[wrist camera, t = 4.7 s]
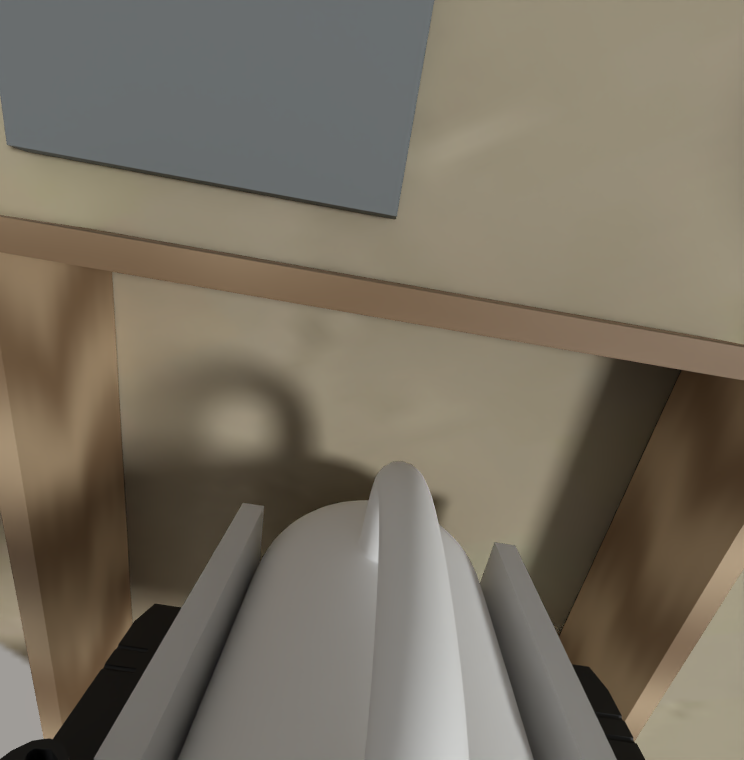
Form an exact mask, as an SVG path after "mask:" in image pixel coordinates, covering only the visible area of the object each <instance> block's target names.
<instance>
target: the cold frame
mask: <svg viewBox="0 0 744 760" xmlns="http://www.w3.org/2000/svg"><path fill="white" fill-rule="evenodd" d="M112 272H117V273H123V274H129V275H135V276H141V277H146V278H152V279H158V280H164V281H170V282H175V283H181V284H187V285H193V286H199V287H204V288H210V289H216V290H222V291H228V292H233V293H239V294H245V295H251V296H257V297H262V298H268V299H274V300H280V301H286V302H291V303H297V304H303V305H309V306H315V307H321V308H326V309H332V310H338V311H344V312H350V313H355V314H361V315H367V316H373V317H379V318H384V319H390V320H396V321H402V322H408V323H413V324H419V325H425V326H431V327H437V328H442V329H448V330H454V331H460V332H466V333H471V334H477V335H483V336H489V337H495V338H500V339H506V340H512V341H518V342H524V343H529V344H535V345H541V346H547V347H553V348H558V349H564V350H570V351H576V352H582V353H587V354H593V355H599V356H605V357H611V358H616V359H622V360H628V361H634V362H640V363H645V364H651V365H657V366H663V367H669V368H674V369H680V370H682V371H681V373H680V375H679V377H678V379H677V382H676V384H675V386H674V388H673V390H672V392H671V395H670V397H669V399H668V401H667V403H666V405H665V408H664V410H663V412H662V414H661V416H660V419H659V421H658V423H657V425H656V427H655V429H654V432H653V434H652V436H651V438H650V440H649V442H648V445H647V447H646V449H645V451H644V453H643V455H642V458H641V460H640V462H639V464H638V466H637V468H636V471H635V473H634V475H633V477H632V479H631V481H630V484H629V486H628V488H627V490H626V492H625V495H624V497H623V499H622V501H621V503H620V505H619V508H618V510H617V512H616V514H615V516H614V518H613V521H612V523H611V525H610V527H609V529H608V531H607V534H606V536H605V538H604V540H603V542H602V544H601V547H600V549H599V551H598V553H597V555H596V558H595V560H594V562H593V564H592V566H591V568H590V571H589V573H588V575H587V577H586V579H585V581H584V584H583V586H582V588H581V590H580V592H579V594H578V597H577V599H576V601H575V603H574V605H573V607H572V610H571V612H570V614H569V616H568V618H567V621H566V623H565V625H564V627H563V629H562V631H561V634H560V636H559V639H560V641H561V643H562V645H563V647H564V649H565V651H566V653H567V656H568V658H569V660H570V662H571V664H574V665H581V666H588V667H590V668H591V670H592V671H593V672H594V673H595V674H596V676H597V677H598V678H599V679H600V680H601V682H602V683H603V684H604V685H605V687H606V688H607V689H608V691H609V692H610V694H611V696H612V698H613V700H614V702H615V704H616V706H617V708H618V709H619V711H620V713H621V715H622V720H623V721H625V723H626V724H627V726H628V728H629V730H630V732H631V734H632V736H633V740H634V741H635V740H636V738H637V737H638V735H639V734H640V732H641V730H642V729H643V727H644V726H645V724H646V722H647V721H648V719H649V718H650V716H651V715H652V713H653V711H654V710H655V708H656V707H657V705H658V704H659V702H660V700H661V699H662V697H663V696H664V694H665V692H666V691H667V689H668V688H669V686H670V685H671V683H672V681H673V680H674V678H675V677H676V675H677V673H678V672H679V670H680V669H681V667H682V666H683V664H684V662H685V661H686V659H687V658H688V656H689V655H690V653H691V651H692V650H693V648H694V647H695V645H696V643H697V642H698V640H699V639H700V637H701V636H702V634H703V632H704V631H705V629H706V628H707V626H708V625H709V623H710V621H711V620H712V618H713V617H714V615H715V613H716V612H717V610H718V609H719V607H720V606H721V604H722V602H723V601H724V599H725V598H726V596H727V594H728V593H729V591H730V590H731V588H732V587H733V585H734V583H735V582H736V580H737V579H738V577H739V576H740V574H741V572H742V571H743V569H744V345H742V344H737V343H732V342H727V341H722V340H717V339H711V338H706V337H700V336H694V335H689V334H683V333H677V332H672V331H666V330H660V329H655V328H649V327H643V326H638V325H632V324H626V323H621V322H615V321H609V320H604V319H598V318H592V317H587V316H581V315H575V314H570V313H564V312H558V311H553V310H547V309H541V308H536V307H530V306H524V305H519V304H513V303H507V302H502V301H496V300H490V299H485V298H479V297H473V296H468V295H462V294H456V293H451V292H445V291H439V290H434V289H428V288H422V287H417V286H411V285H405V284H400V283H394V282H388V281H383V280H377V279H371V278H366V277H360V276H354V275H349V274H343V273H337V272H332V271H326V270H320V269H315V268H309V267H303V266H298V265H292V264H286V263H281V262H275V261H269V260H264V259H258V258H252V257H247V256H241V255H235V254H230V253H224V252H218V251H213V250H207V249H201V248H196V247H190V246H184V245H179V244H173V243H167V242H162V241H156V240H150V239H145V238H139V237H133V236H128V235H122V234H116V233H111V232H105V231H99V230H94V229H88V228H82V227H75V226H69V225H62V224H56V223H49V222H42V221H36V220H29V219H23V218H16V217H10V216H3V215H0V511H1V516H2V521H3V526H4V532H5V537H6V542H7V547H8V553H9V558H10V563H11V568H12V574H13V579H14V584H15V589H16V595H17V600H18V605H19V610H20V616H21V621H22V626H23V631H24V637H25V642H26V647H27V652H28V658H29V663H30V668H31V673H32V678H33V684H34V689H35V694H36V700H37V705H38V710H39V715H40V721H41V726H42V731H43V737H44V739H48V738H51V739H53V738H54V736H55V735H56V734H57V732H58V731H59V729H60V728H61V726H62V725H63V723H64V722H65V721H66V719H67V718H68V716H69V715H70V713H71V712H72V710H73V709H74V708H75V706H76V705H77V703H78V702H79V700H80V699H81V698H82V696H83V695H84V693H85V692H86V690H87V689H88V687H89V686H90V685H91V683H92V682H93V680H94V679H95V677H96V676H97V674H98V673H99V672H100V670H101V669H103V668H104V665H105V663H106V661H107V660H108V659H109V657H110V656H111V654H112V653H113V651H114V650H115V649H117V647H118V644H119V643H120V641H121V640H122V638H123V637H124V635H125V634H126V633H127V631H128V630H129V628H130V627H131V625H132V609H131V592H130V575H129V557H128V540H127V523H126V506H125V489H124V471H123V454H122V437H121V420H120V403H119V385H118V368H117V351H116V334H115V317H114V299H113V282H112Z"/></svg>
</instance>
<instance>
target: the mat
mask: <svg viewBox="0 0 744 760" xmlns="http://www.w3.org/2000/svg"><path fill="white" fill-rule="evenodd" d="M433 4H434V0H0V96H1V103H2V111H3V119H4V126H5V134H6V141H7V145H9V146H12V147H15V148H18V149H21V150H24V151H27V152H32V153H38V154H43V155H49V156H54V157H59V158H65V159H70V160H76V161H81V162H87V163H92V164H98V165H103V166H109V167H114V168H119V169H125V170H130V171H136V172H141V173H147V174H152V175H158V176H163V177H168V178H174V179H179V180H185V181H190V182H196V183H201V184H207V185H212V186H218V187H223V188H228V189H234V190H239V191H245V192H250V193H256V194H261V195H267V196H272V197H277V198H283V199H288V200H294V201H299V202H305V203H310V204H316V205H321V206H327V207H332V208H337V209H343V210H348V211H354V212H359V213H365V214H370V215H376V216H381V217H387V218H392V219H396V217H397V211H398V206H399V200H400V194H401V188H402V183H403V177H404V171H405V165H406V160H407V154H408V148H409V142H410V137H411V131H412V125H413V119H414V114H415V108H416V102H417V96H418V91H419V85H420V79H421V73H422V68H423V62H424V56H425V50H426V45H427V39H428V33H429V27H430V22H431V16H432V10H433Z"/></svg>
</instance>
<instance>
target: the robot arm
mask: <svg viewBox="0 0 744 760" xmlns="http://www.w3.org/2000/svg"><path fill="white" fill-rule="evenodd" d="M263 516H264V506H261V505H254V504H248V503H242V505H241V507H240V508H239V510H238V512H237V514H236V515H235V517H234V519H233V520H232V522H231V524H230V526H229V527H228V529H227V531H226V532H225V534H224V536H223V538H222V539H221V541H220V543H219V544H218V546H217V548H216V550H215V551H214V553H213V555H212V556H211V558H210V560H209V562H208V563H207V565H206V567H205V569H204V570H203V572H202V574H201V575H200V577H199V579H198V581H197V582H196V584H195V586H194V587H193V589H192V591H191V593H190V594H189V596H188V598H187V599H186V601H185V603H184V605H183V606H182V608H181V607H174V606H167V605H160V604H154V605H153V606H152V607H151V608H149V609H148V610H147V611H146V612H145V613H144V614H142V615H141V616H140V617H139V618H138V619H137V620H135V621H134V623H133V624H132V625H131V627H130V628H129V630H128V631H127V633H126V634H125V635H124V637H123V638H122V640H121V641H120V643H119V644H118V647H117V649H115V650H114V651H113V653H112V654H111V656H110V657H109V659H108V660H107V661H106V663H105V665H104V668H103V669H101V670H100V672H99V673H98V674H97V676H96V677H95V679H94V680H93V682H92V683H91V685H90V686H89V687H88V689H87V690H86V692H85V693H84V695H83V696H82V698H81V699H80V700H79V702H78V703H77V705H76V706H75V708H74V709H73V710H72V712H71V713H70V715H69V716H68V718H67V719H66V721H65V722H64V723H63V725H62V726H61V728H60V729H59V731H58V732H57V734H56V735H55V736H54V738H53V739H51V738H48V739H41V740H35V741H31V742H29V743H27V744H25V745H22V746H20V747H18V748H16V749H14V750H12V751H10V752H9V753H8V754H6V755H5V756H4V757H3V758H1V759H0V760H178V757H179V755H180V752H181V750H182V748H183V745H184V743H185V740H186V738H187V735H188V733H189V731H190V728H191V726H192V723H193V721H194V718H195V716H196V714H197V711H198V709H199V706H200V704H201V701H202V699H203V697H204V694H205V692H206V689H207V687H208V684H209V682H210V680H211V677H212V675H213V672H214V670H215V667H216V665H217V663H218V660H219V658H220V655H221V653H222V650H223V648H224V646H225V643H226V641H227V638H228V636H229V633H230V631H231V629H232V626H233V624H234V621H235V619H236V616H237V614H238V612H239V609H240V607H241V604H242V602H243V599H244V597H245V595H246V592H247V590H248V587H249V585H250V583H251V580H252V578H253V576H254V573H255V571H256V569H257V567H258V565H259V563H260V553H261V541H262V528H263ZM480 585H481V588H482V591H483V595H484V598H485V601H486V604H487V607H488V611H489V614H490V617H491V620H492V624H493V627H494V630H495V634H496V637H497V640H498V643H499V647H500V650H501V653H502V657H503V660H504V663H505V666H506V670H507V673H508V676H509V680H510V683H511V686H512V689H513V693H514V696H515V699H516V702H517V706H518V709H519V712H520V716H521V719H522V722H523V725H524V729H525V732H526V735H527V739H528V742H529V745H530V748H531V752H532V755H533V758H534V760H645V758H644V756H643V755H642V753H641V751H640V749H639V747H638V745H637V744H636V743H635V742H634V740H633V736H632V734H631V732H630V730H629V728H628V726H627V724H626V723H625V721H623V720H622V715H621V713H620V711H619V709H618V708H617V706H616V704H615V702H614V700H613V698H612V696H611V694H610V692H609V691H608V689H607V688H606V687H605V685H604V684H603V683H602V682H601V680H600V679H599V678H598V677H597V676H596V674H595V673H594V672H593V671H592V670H591V668H590V667H588V666H581V665H574V664H571V662H570V660H569V658H568V656H567V653H566V651H565V649H564V647H563V645H562V643H561V641H560V639H559V637H558V635H557V632H556V630H555V628H554V626H553V624H552V622H551V620H550V618H549V616H548V613H547V611H546V609H545V607H544V605H543V603H542V601H541V599H540V597H539V594H538V592H537V590H536V588H535V586H534V584H533V582H532V580H531V578H530V575H529V573H528V571H527V569H526V567H525V565H524V563H523V561H522V559H521V556H520V554H519V552H518V550H517V548H516V546H515V545H509V544H503V543H497V542H495V543H494V545H493V548H492V551H491V554H490V557H489V559H488V562H487V565H486V568H485V570H484V573H483V576H482V579H481V582H480Z"/></svg>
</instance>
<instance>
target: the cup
mask: <svg viewBox="0 0 744 760" xmlns="http://www.w3.org/2000/svg"><path fill="white" fill-rule="evenodd" d="M178 760H534V758H533V755H532V752H531V748H530V745H529V742H528V739H527V735H526V732H525V729H524V725H523V722H522V719H521V716H520V712H519V709H518V706H517V702H516V699H515V696H514V693H513V689H512V686H511V683H510V680H509V676H508V673H507V670H506V666H505V663H504V660H503V657H502V653H501V650H500V647H499V643H498V640H497V637H496V634H495V630H494V627H493V624H492V620H491V617H490V614H489V611H488V607H487V604H486V601H485V598H484V595H483V591H482V588H481V585H480V583H479V580H478V577H477V574H476V572H475V570H474V568H473V565H472V563H471V561H470V559H469V557H468V556H467V554H466V552H465V551H464V549H463V548H462V547H461V545H460V544H459V543H458V542H457V541H456V540H455V539H454V538H453V536H452V535H451V534H450V533H449V532H448V531H446V530H445V529H444V528H443V527H442V526H440V525H439V523H438V519H437V514H436V510H435V506H434V503H433V499H432V496H431V493H430V490H429V488H428V485H427V483H426V481H425V479H424V477H423V475H422V474H421V472H420V471H419V470H418V469H417V468H415V467H414V466H413V465H411V464H409V463H406V462H403V461H396V462H391V463H389V464H388V465H386V466H384V467H383V468H382V469H381V470H380V471H379V472H378V474H377V475H376V478H375V480H374V484H373V487H372V490H371V493H370V497H369V500H357V501H346V502H340V503H336V504H332V505H328V506H325V507H322V508H319V509H317V510H315V511H312V512H310V513H308V514H306V515H304V516H302V517H301V518H299V519H297V520H296V521H295V522H293V523H292V524H290V525H289V526H288V527H287V528H286V529H285V530H284V531H282V532H281V533H280V534H279V535H278V536H277V537H276V538H275V540H274V541H273V542H272V543H271V545H270V546H269V548H268V549H267V551H266V552H265V554H264V556H263V557H262V559H261V561H260V563H259V565H258V567H257V569H256V571H255V573H254V576H253V578H252V580H251V583H250V585H249V587H248V590H247V592H246V595H245V597H244V599H243V602H242V604H241V607H240V609H239V612H238V614H237V616H236V619H235V621H234V624H233V626H232V629H231V631H230V633H229V636H228V638H227V641H226V643H225V646H224V648H223V650H222V653H221V655H220V658H219V660H218V663H217V665H216V667H215V670H214V672H213V675H212V677H211V680H210V682H209V684H208V687H207V689H206V692H205V694H204V697H203V699H202V701H201V704H200V706H199V709H198V711H197V714H196V716H195V718H194V721H193V723H192V726H191V728H190V731H189V733H188V735H187V738H186V740H185V743H184V745H183V748H182V750H181V752H180V755H179V757H178Z"/></svg>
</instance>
